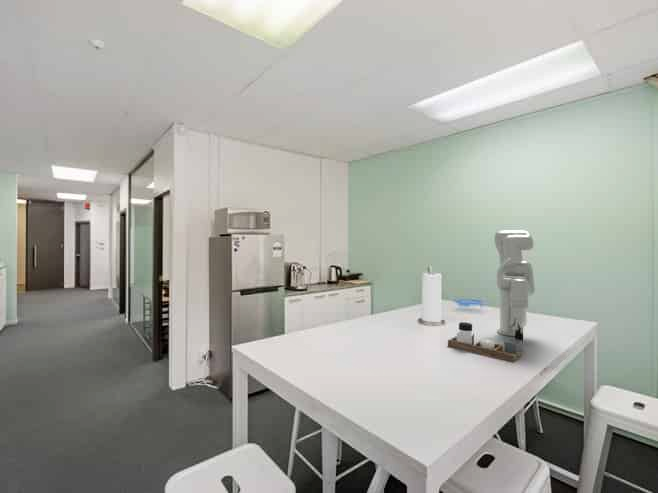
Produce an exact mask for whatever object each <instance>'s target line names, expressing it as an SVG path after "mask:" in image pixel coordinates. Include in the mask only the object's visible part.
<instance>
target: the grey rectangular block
mask: <svg viewBox="0 0 658 493" xmlns="http://www.w3.org/2000/svg"><path fill="white" fill-rule="evenodd" d="M522 342H523V341H522V340H518V339H515V338H513V337H509V338H507V339H506V340H505V341H504V344H503V346H504V347H503V348H504V349H503V352H505V353H510V354H514V355H515V354H516V353H517V352H518V351H521V352H522V348H523V347H522V346H523V345H522V344H523V343H522Z"/></svg>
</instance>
